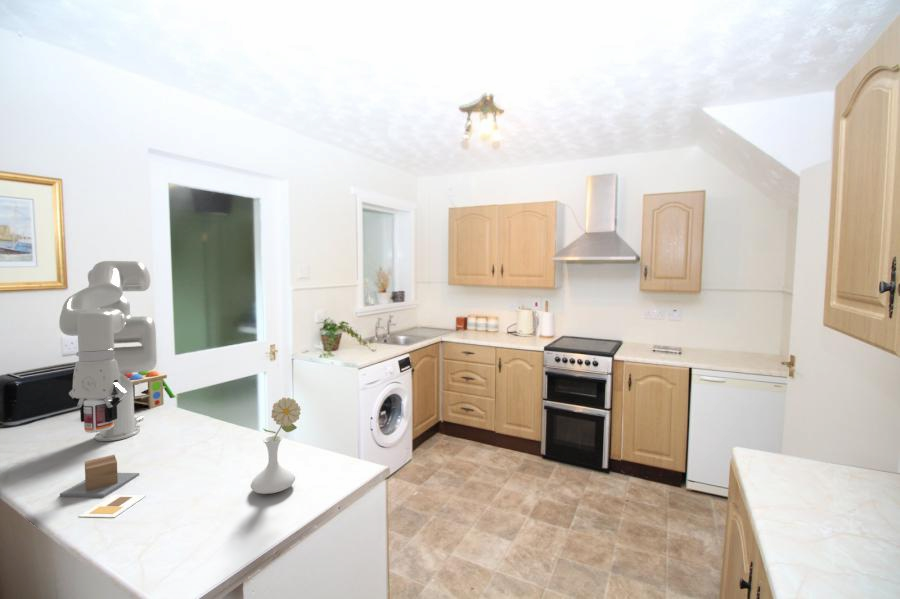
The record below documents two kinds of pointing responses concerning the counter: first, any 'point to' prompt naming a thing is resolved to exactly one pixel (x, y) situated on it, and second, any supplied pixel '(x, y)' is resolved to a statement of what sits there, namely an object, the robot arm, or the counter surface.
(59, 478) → the counter surface
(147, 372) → the pounding bench toy
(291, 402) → the flower in vase
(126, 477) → the slate plate
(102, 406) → the pill bottle
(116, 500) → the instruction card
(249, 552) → the counter surface
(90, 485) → the walnut block
